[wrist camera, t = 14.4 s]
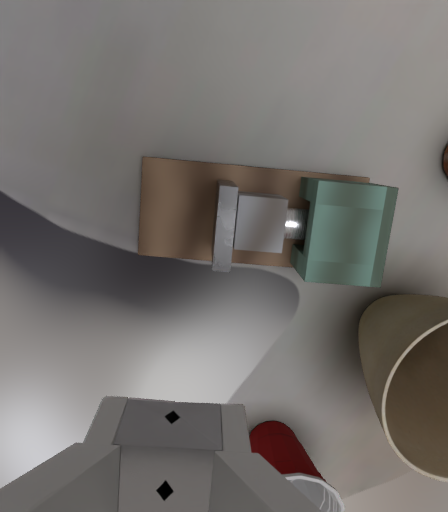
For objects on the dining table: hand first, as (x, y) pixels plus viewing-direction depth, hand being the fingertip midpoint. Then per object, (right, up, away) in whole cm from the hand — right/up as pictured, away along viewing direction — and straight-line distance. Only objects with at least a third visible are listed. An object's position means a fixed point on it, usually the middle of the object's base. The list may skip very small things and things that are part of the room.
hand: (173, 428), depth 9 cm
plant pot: (+20, -4, +40) cm, 45 cm away
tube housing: (+4, +8, +36) cm, 37 cm away
